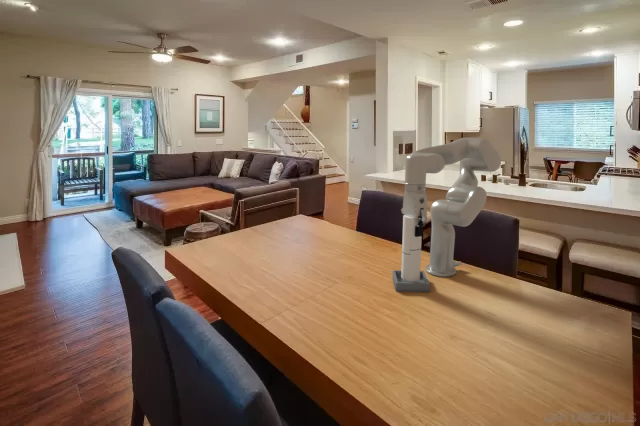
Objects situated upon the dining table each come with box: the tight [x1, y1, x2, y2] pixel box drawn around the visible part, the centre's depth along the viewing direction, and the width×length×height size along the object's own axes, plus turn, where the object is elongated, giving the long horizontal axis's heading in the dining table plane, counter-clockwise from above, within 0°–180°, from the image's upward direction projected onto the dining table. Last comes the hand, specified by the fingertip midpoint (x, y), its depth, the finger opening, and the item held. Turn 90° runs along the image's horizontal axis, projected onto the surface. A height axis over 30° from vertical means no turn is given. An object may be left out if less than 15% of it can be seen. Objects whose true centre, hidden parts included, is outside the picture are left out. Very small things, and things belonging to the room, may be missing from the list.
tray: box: [392, 269, 431, 293], centre depth 144 cm, size 13×13×4 cm
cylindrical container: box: [400, 215, 423, 281], centre depth 140 cm, size 7×7×25 cm
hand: (412, 233), depth 139 cm, fingers closed on cylindrical container, 7 cm apart
